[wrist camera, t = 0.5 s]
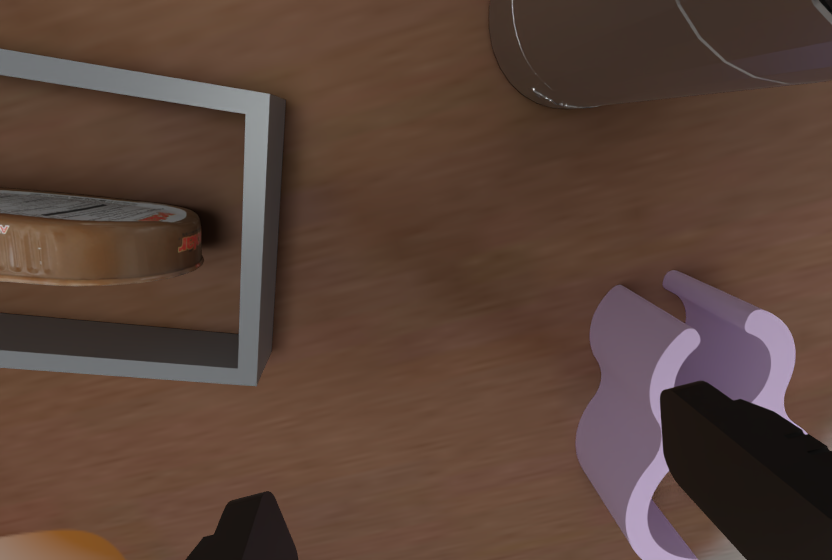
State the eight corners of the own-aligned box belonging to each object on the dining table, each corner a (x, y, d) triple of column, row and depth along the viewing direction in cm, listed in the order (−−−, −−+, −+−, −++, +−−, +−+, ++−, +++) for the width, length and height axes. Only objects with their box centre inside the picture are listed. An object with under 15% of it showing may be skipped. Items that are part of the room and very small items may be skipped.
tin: (-67, 227, 23) (-289, 277, 16) (-81, 167, 22) (-326, 188, 15) (225, 252, 25) (161, 307, 18) (224, 198, 24) (155, 231, 17)
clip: (552, 301, 29) (606, 351, 22) (731, 252, 29) (837, 287, 23) (585, 519, 36) (634, 606, 29) (730, 478, 36) (811, 555, 29)
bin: (-183, 21, 20) (-310, -4, 16) (285, 99, 23) (269, 94, 19) (-112, 319, 25) (-199, 353, 21) (271, 351, 28) (256, 386, 24)
